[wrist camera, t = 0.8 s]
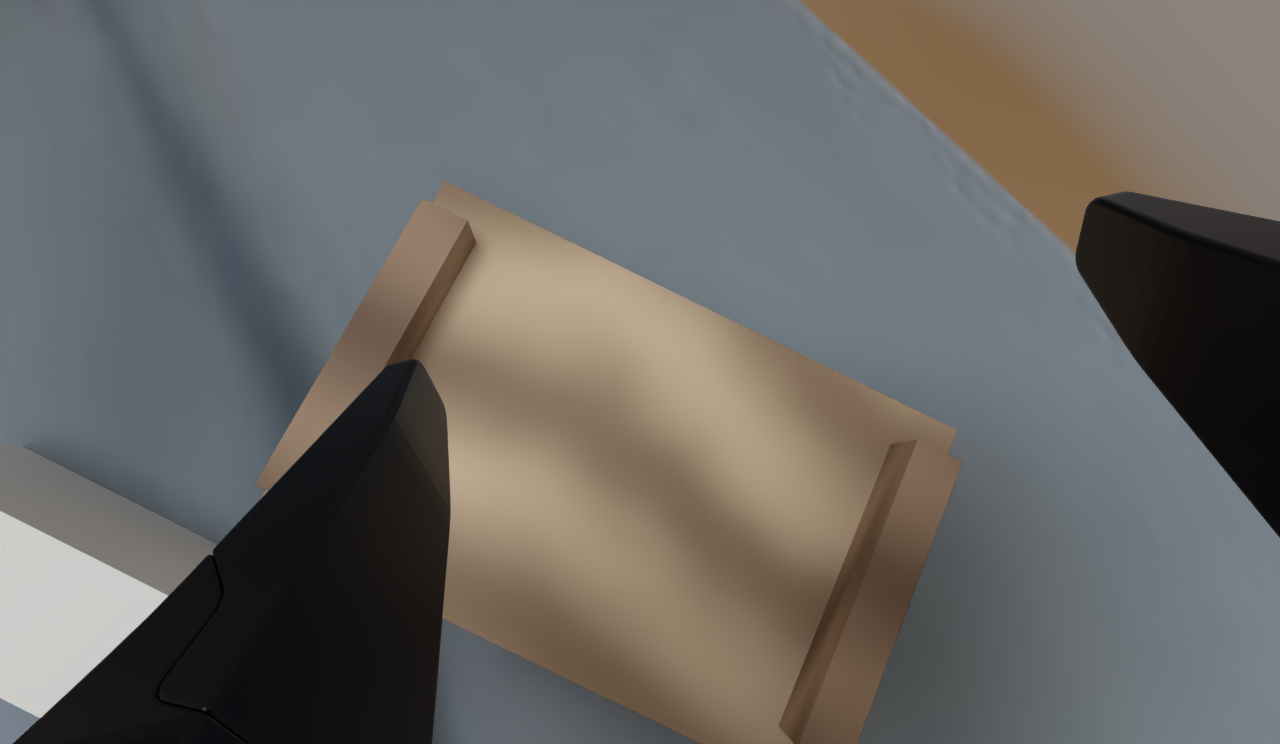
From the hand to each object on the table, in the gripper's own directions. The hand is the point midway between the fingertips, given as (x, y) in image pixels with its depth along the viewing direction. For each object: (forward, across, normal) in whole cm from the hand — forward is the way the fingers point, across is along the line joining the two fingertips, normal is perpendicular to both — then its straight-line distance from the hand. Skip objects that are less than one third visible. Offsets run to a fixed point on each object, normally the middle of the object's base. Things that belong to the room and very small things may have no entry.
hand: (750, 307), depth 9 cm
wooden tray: (+9, +4, +12) cm, 16 cm away
